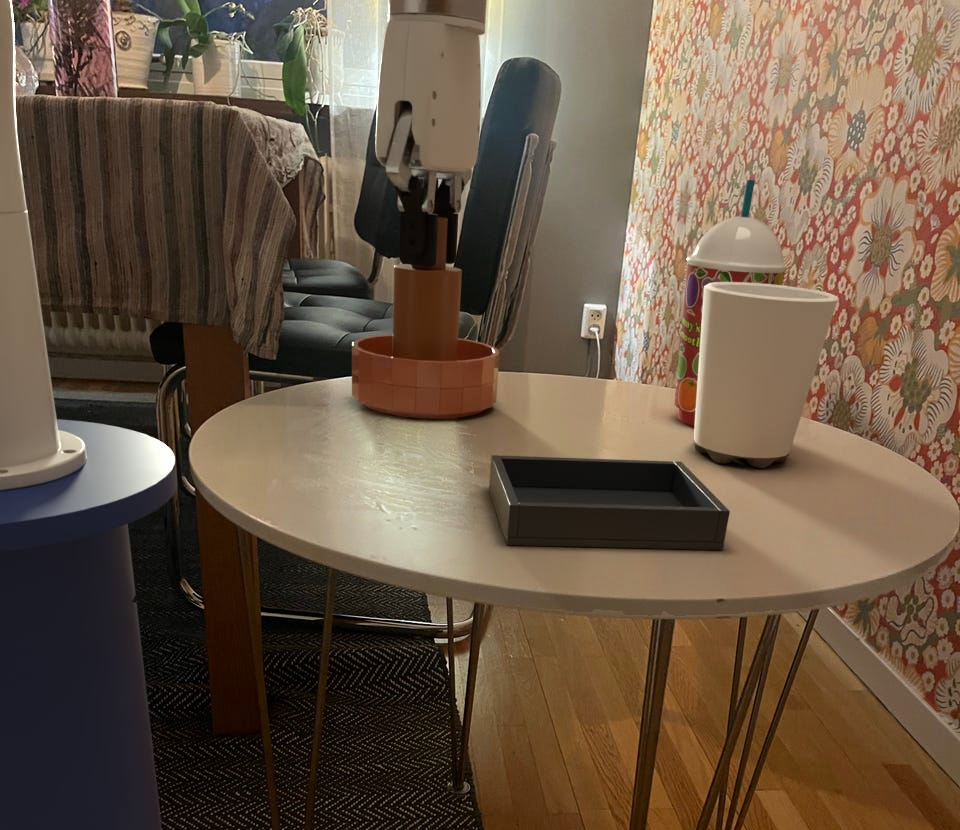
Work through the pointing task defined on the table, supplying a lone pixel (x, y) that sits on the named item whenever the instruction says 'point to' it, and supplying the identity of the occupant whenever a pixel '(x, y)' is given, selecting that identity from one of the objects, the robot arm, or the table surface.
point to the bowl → (424, 380)
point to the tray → (604, 504)
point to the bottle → (427, 307)
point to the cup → (756, 367)
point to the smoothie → (722, 258)
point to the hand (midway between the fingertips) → (428, 261)
